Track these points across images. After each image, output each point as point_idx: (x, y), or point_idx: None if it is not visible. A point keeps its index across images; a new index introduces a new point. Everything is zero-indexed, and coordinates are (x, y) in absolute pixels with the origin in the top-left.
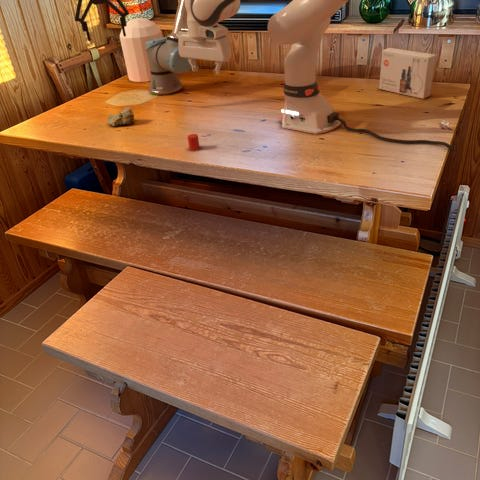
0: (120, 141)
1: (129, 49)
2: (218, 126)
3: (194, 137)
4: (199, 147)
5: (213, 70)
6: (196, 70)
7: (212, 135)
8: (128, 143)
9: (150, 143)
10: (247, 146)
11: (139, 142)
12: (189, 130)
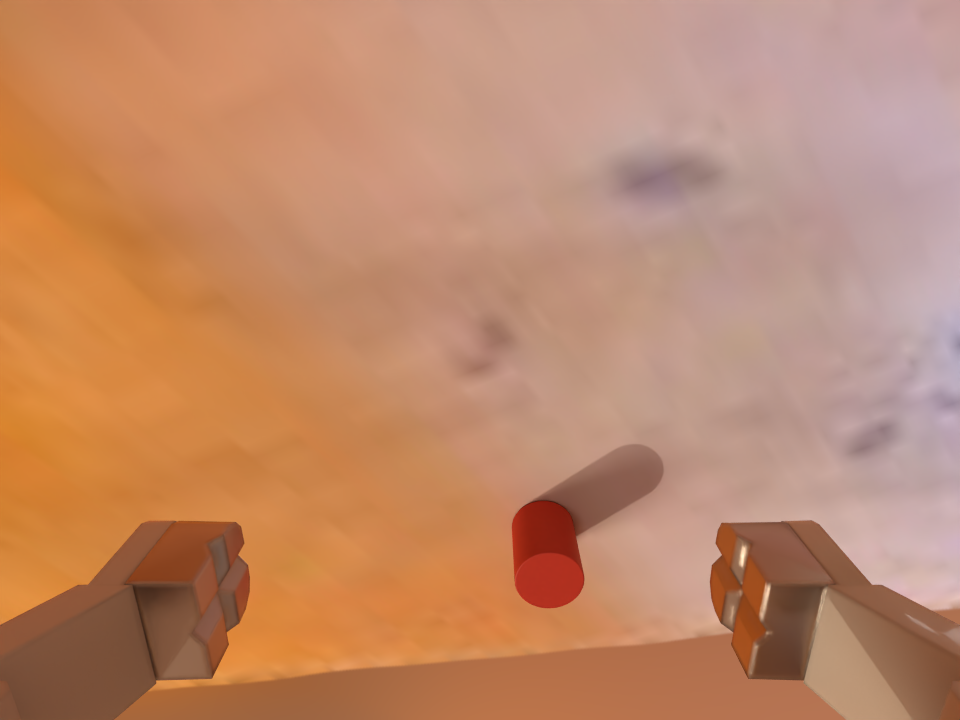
0: None
1: None
2: (454, 165)
3: (578, 594)
4: (569, 516)
5: (740, 656)
6: (242, 587)
7: (521, 329)
8: None
9: None
10: (851, 382)
11: None
12: (302, 321)
